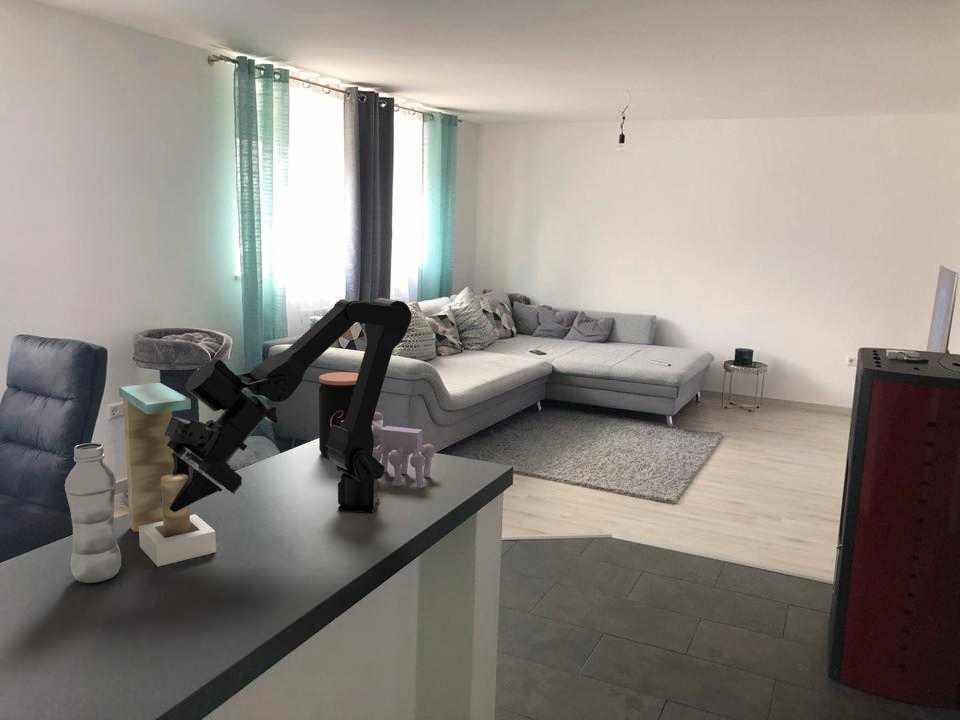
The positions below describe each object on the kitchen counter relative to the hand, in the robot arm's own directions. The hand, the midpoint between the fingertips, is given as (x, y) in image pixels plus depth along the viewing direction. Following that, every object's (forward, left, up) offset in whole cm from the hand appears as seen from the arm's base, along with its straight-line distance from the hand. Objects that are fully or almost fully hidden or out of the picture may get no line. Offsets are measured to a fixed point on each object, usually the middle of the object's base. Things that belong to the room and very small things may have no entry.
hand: (167, 506), depth 122 cm
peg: (-1, -1, -7) cm, 7 cm away
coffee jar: (-12, -56, -8) cm, 58 cm away
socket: (-1, -1, -7) cm, 8 cm away
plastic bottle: (+6, +11, -8) cm, 14 cm away
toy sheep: (-25, -42, -8) cm, 50 cm away
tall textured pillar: (+4, -5, -7) cm, 10 cm away
